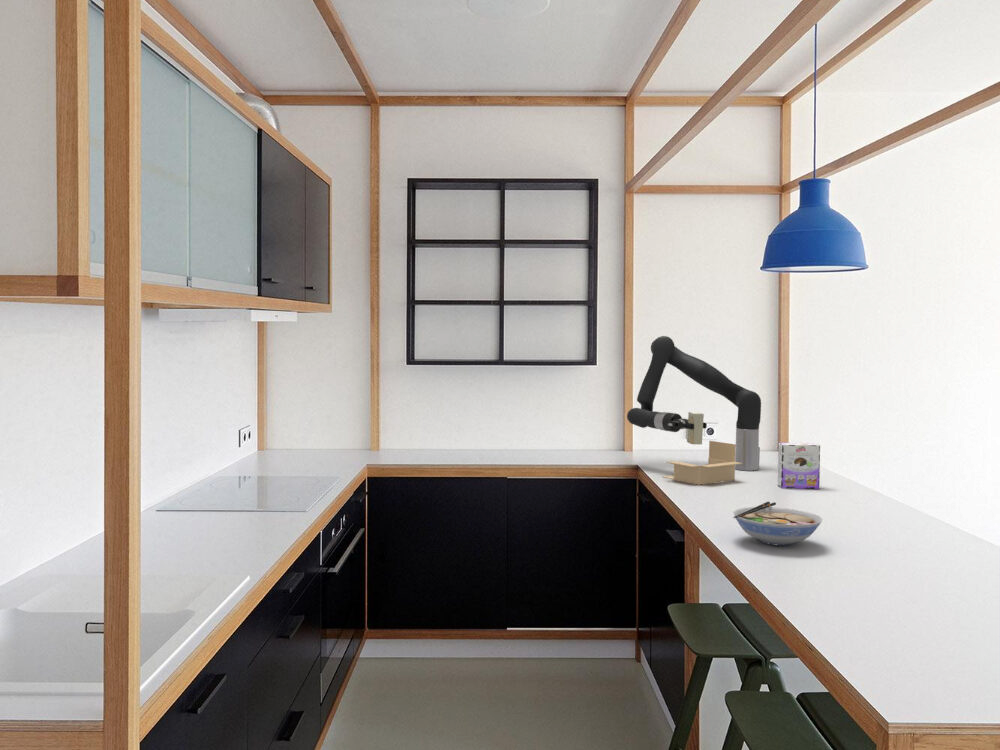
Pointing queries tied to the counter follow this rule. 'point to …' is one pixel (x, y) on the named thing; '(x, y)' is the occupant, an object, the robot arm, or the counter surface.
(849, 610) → the counter surface
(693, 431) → the skincare box
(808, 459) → the candy box
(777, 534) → the ramen bowl
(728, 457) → the carton
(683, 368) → the robot arm
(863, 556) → the counter surface
